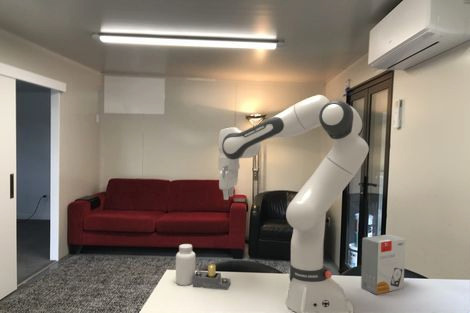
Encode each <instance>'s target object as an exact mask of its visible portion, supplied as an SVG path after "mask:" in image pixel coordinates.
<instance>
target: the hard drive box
mask: <svg viewBox="0 0 470 313" xmlns="http://www.w3.org/2000/svg"><path fill="white" fill-rule="evenodd" d="M361 246H362V247H361V279H360V288H362V289H364V290H366V291H368V292H371V293H372V294H374V295H380V294H385V293H387V292H388V293H389V292H392V291H398V290H400V289H401V290H402V289H405V288H404V286H405V283H404V282H405V253H406V252H405V251H406V238H404V237H401V236H397V235H393V234H390V233H388V234H382V235H375V236H367V237H362V241H361Z"/></svg>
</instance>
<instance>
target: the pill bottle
mask: <svg viewBox="0 0 470 313" xmlns="http://www.w3.org/2000/svg"><path fill="white" fill-rule="evenodd" d="M195 274H196V253H195V252H194V251H193V245H192V244H191V243H190V244H189V243H183V244H180V245H179V246H178V252H177V253H176V254H175V283H176V285H177V284H178V285H180V286H188V285H193V276H194V275H195Z"/></svg>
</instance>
